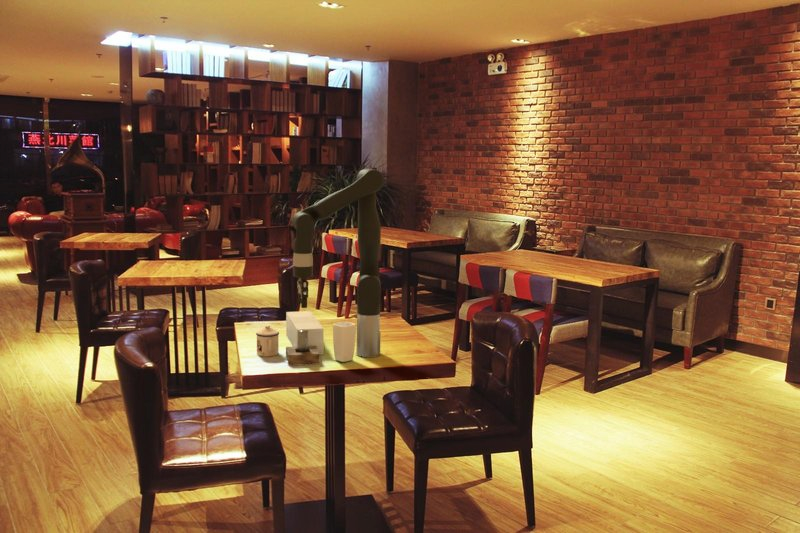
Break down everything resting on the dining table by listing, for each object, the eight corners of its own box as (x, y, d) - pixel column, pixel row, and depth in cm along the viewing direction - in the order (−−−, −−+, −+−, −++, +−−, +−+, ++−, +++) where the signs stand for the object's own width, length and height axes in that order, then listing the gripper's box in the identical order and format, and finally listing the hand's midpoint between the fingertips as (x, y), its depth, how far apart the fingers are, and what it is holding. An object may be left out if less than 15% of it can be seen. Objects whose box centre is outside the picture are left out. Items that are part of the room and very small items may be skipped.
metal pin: (306, 358, 278) (307, 329, 276) (308, 361, 275) (308, 331, 273) (296, 358, 277) (297, 329, 276) (297, 361, 274) (298, 332, 272)
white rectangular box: (323, 353, 286) (323, 328, 285) (297, 355, 283) (297, 329, 281) (309, 334, 316) (310, 311, 315) (286, 335, 313) (286, 312, 312)
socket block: (315, 355, 283) (315, 345, 283) (319, 363, 272) (319, 353, 271) (285, 356, 280) (285, 346, 280) (288, 365, 269) (288, 355, 268)
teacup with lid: (254, 351, 286) (254, 323, 284) (277, 349, 289) (277, 322, 287) (258, 359, 275) (258, 330, 273) (282, 358, 278) (282, 329, 276)
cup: (330, 360, 277) (331, 323, 275) (345, 356, 282) (345, 320, 280) (342, 364, 272) (343, 327, 270) (356, 360, 277) (357, 324, 275)
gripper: (314, 267, 264) (314, 309, 267) (310, 261, 278) (310, 301, 280) (294, 267, 262) (295, 309, 265) (291, 261, 276) (291, 302, 278)
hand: (302, 305), depth 273 cm, fingers open, 8 cm apart
